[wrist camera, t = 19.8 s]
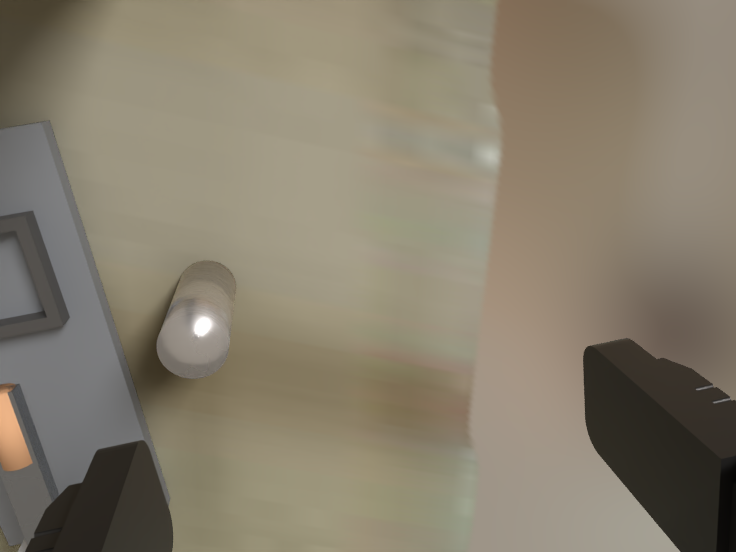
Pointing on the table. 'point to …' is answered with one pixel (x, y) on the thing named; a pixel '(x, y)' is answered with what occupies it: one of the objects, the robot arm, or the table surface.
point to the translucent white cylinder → (198, 321)
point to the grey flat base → (57, 320)
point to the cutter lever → (23, 461)
